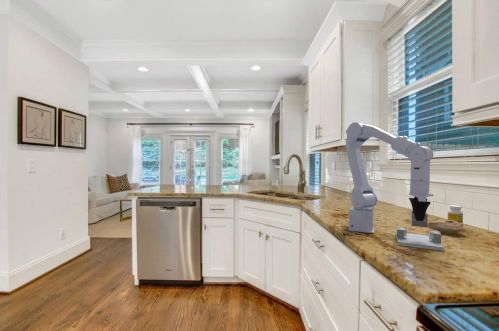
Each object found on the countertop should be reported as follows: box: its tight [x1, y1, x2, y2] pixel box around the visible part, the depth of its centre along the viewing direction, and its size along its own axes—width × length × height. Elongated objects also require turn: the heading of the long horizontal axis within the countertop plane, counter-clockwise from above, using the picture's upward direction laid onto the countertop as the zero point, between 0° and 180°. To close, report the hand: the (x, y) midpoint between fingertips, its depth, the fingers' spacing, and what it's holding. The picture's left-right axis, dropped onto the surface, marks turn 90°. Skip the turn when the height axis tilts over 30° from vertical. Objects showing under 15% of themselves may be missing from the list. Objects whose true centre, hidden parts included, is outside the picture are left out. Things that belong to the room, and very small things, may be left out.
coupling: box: [409, 210, 429, 228], centre depth 96 cm, size 5×5×4 cm
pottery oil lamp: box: [426, 219, 466, 235], centre depth 111 cm, size 9×12×7 cm
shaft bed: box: [395, 226, 445, 252], centre depth 97 cm, size 13×14×4 cm
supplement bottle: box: [447, 204, 464, 225], centre depth 120 cm, size 5×5×10 cm
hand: (418, 219), depth 96 cm, fingers closed on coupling, 5 cm apart
